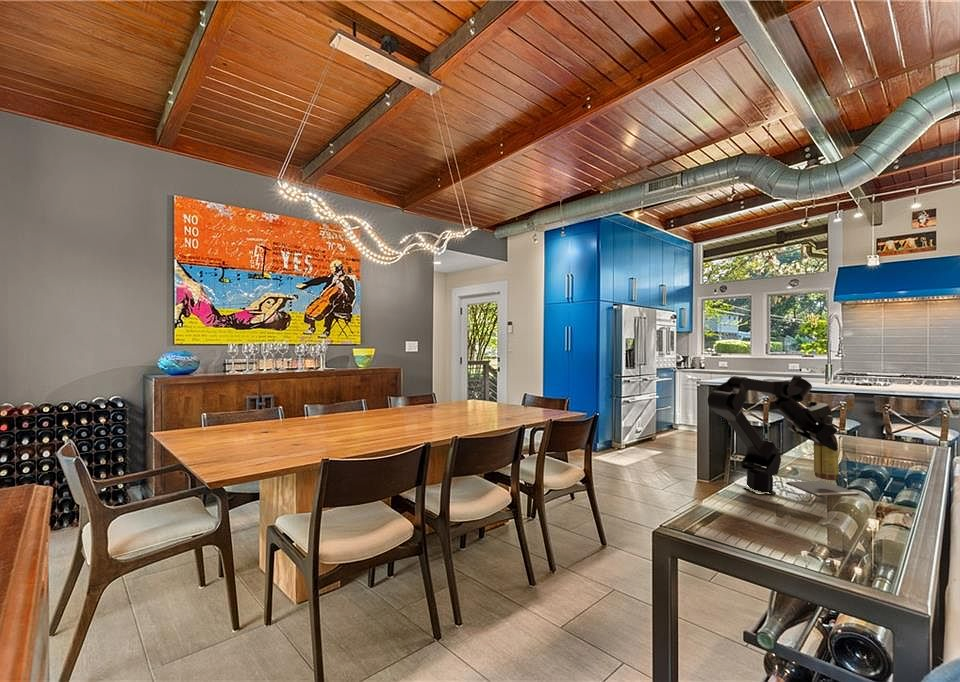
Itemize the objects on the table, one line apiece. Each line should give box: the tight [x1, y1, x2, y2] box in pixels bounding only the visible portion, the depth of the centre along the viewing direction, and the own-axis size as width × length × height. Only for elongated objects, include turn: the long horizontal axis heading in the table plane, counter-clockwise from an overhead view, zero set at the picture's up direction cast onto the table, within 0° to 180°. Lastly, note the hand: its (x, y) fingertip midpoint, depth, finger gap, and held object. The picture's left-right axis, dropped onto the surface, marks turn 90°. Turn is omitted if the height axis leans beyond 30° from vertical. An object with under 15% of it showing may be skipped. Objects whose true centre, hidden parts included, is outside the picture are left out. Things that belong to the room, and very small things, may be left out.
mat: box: [786, 480, 859, 497], centre depth 144 cm, size 14×12×1 cm
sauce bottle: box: [812, 415, 840, 481], centre depth 143 cm, size 7×6×20 cm
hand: (830, 447), depth 143 cm, fingers closed on sauce bottle, 6 cm apart
